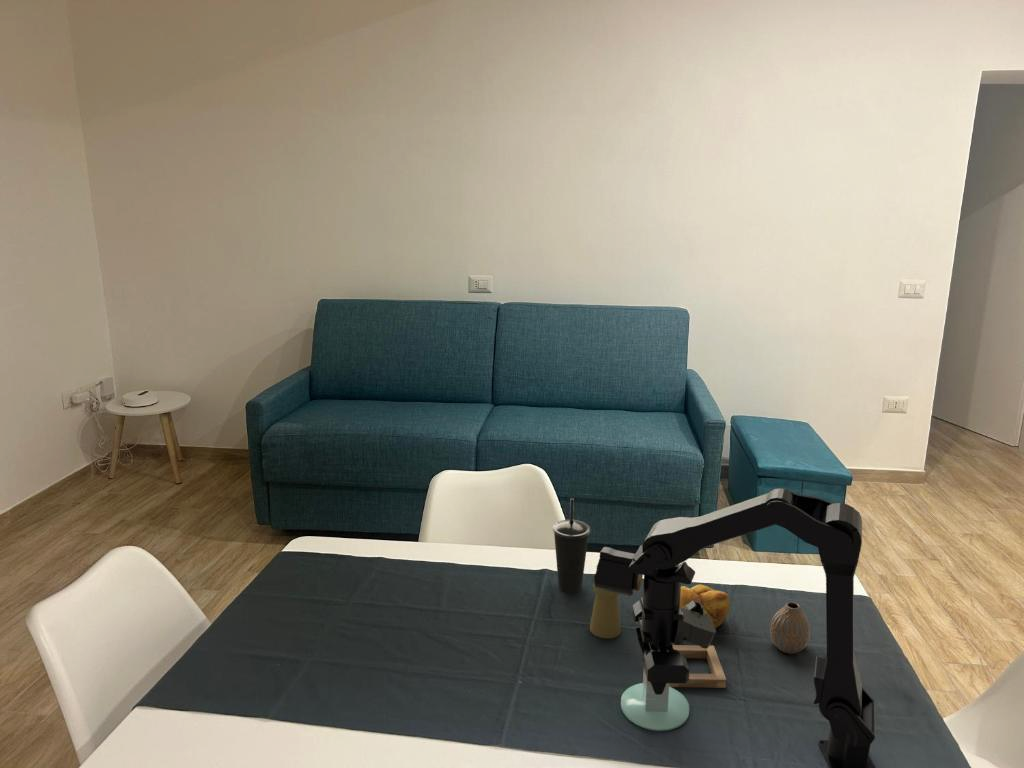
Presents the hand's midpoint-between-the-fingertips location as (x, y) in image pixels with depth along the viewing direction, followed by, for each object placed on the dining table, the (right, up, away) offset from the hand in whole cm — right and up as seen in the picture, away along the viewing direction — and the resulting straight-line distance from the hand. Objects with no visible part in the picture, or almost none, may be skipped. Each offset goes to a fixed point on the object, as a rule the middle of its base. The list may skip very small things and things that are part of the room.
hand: (656, 685), depth 129 cm
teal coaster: (0, -4, +1) cm, 4 cm away
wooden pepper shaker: (-6, +2, +23) cm, 23 cm away
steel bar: (0, -4, +1) cm, 4 cm away
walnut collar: (+8, -1, +11) cm, 14 cm away
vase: (+27, 0, +17) cm, 32 cm away
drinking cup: (-11, +6, +37) cm, 39 cm away
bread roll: (+12, +3, +26) cm, 28 cm away
